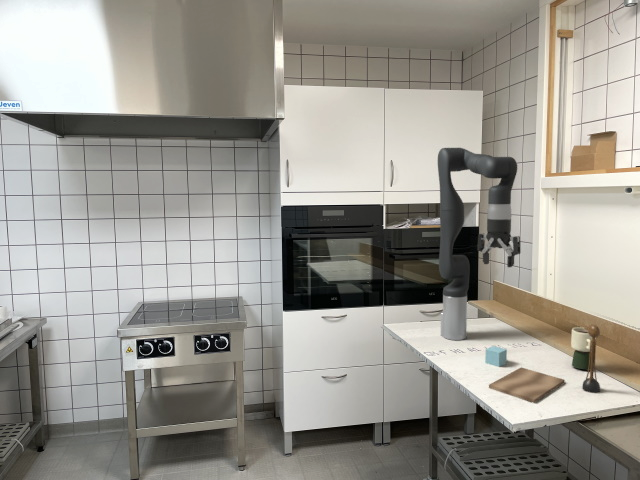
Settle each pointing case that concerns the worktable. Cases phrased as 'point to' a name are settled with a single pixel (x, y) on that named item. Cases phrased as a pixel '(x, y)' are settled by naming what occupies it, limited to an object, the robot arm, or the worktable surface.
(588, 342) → the character mug
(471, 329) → the worktable surface
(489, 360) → the teal cube
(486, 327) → the worktable surface
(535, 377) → the walnut board
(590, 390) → the wooden tabletop sculpture
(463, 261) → the robot arm
